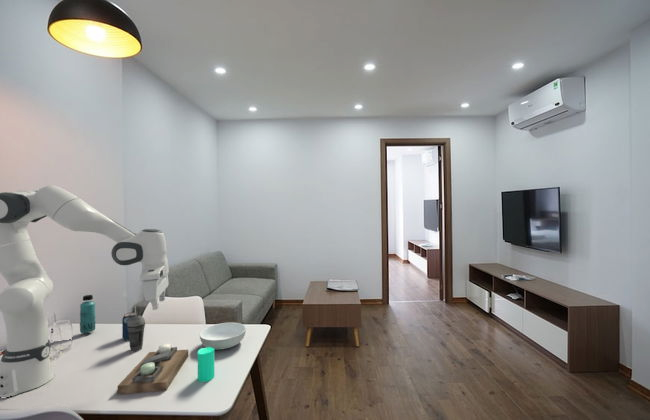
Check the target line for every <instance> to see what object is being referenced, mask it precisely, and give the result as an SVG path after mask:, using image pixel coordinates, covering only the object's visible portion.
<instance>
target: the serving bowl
mask: <svg viewBox="0 0 650 420" xmlns="http://www.w3.org/2000/svg"><path fill="white" fill-rule="evenodd" d="M246 330H247V328H246V325H244V324H242V323H240V322H222V323H216V324H213V325H210V326H208V327H206V328H204V329H203V330H201V331H200V333H199V340H200V342H201V344H202V345H203V346H204V348H206V347H211V348H214V350H225V349H229V348H232V347H235V346H237V345H238V344H239V343H241V341H243V340H244V338H245V336H246V332H247V331H246Z"/></svg>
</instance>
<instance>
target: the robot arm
mask: <svg viewBox="0 0 650 420" xmlns="http://www.w3.org/2000/svg"><path fill="white" fill-rule="evenodd" d="M47 217H48V218H50V219H51V220H52V221H54V222H56V223H57V224H58V225H60V226H61V227H64V228H65V229H68V230H70V231H74V232H83V233H84V232H85V233H87V232H89V233H96V234H100V235H103V236H105V237H107V238H109V239H111V240H112V241H114V242H116V244H114V246H113V247H112V249H111V259H112V260H113V261H114V262H115V263H116V264H117V265H120V266H131V265H133V264H136V263H140V264H141V268H142V269H141V274H139V280H140V282H142V284H141V285H142V292H143V293H142V294H143V298H144V300H145V302H150V304H151V306H152V308H151V309H152V310H153V311H155V310H156V311H157V310H158V309H159V307H160V306H159V303H158V300H159V302H165V300H166V289H167V288H168V287H169V284H170V283H169V276H168V274H169V272H170V270H169V269H170V268H169V259H168V257H167V252H168V250H167V247H168V246H167V241H166V237H165V233H164V232H163V231H162V230H160V229H158V228H157V229H156V228H155V229H154V228H145V229H142V230H140V231H139V232H138V233H134V232H133V231H131V230H130V229H128V228H126V227H125V226H123V225H122V224H120V223H118V222H117V221H114V220H113V219H111V218H110V217H108V216H107V215H105V214H103V213H102V212H100V211H98V210H97V209H95V207H94V206H92V205H90V204H89V203H87V202H86V201H84V200H83V199H81V198H80V197H79V196H77V195H75V194H74V193H72V192H70V191H69V190H66V189H64V188H62V187H60V186H58V185H53V184H52V185H50V184H49V185H45V186H43V187H41V188H39V189H37V190H16V191H10V192H7V191H6V192H0V274H1V276H2V277H3V278H4V280H5V281H6V283H7V284H8V286H7V287H6V288H4V289H3V290H2V291H1V292H0V312H1V315H2V318H3V321H4V325H5V331H6V334H5V335H6V348H5V349H3V350H2V351H0V356H2V357H1V358H0V397H9V398H11V397H10V396H12V397H15V396H16V395H19V394H21V393H25V392H28V391H32V390H34V389H36V388H39V387H41V386H43V385H45V384H47V383H48V382H50V381H52V380H53V378H54V377H55V373H54V371H53V370H54V369H53V368H52V365H51V360H50V352H51V340H50V339H49V320H48V318H47V316H46V313H45V309H44V302H45V300H47V299H48V298H49V297H50V295H51V294H52V293H53V290H54V283H53V280H52V279H51V278H50V277H49V275H48V274H47V272H46V270H45V268H44V267H43V266H42V264H41V262H40V260H39V259H38V257H37V254H36V251H35V248H34V245H33V243H32V240H31V237H30V235H29V232H28V225H29V224H30V223H37V222H38V221H40V220H42V219H44V218H47Z"/></svg>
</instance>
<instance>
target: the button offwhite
mask: <svg viewBox="0 0 650 420" xmlns="http://www.w3.org/2000/svg"><path fill="white" fill-rule="evenodd" d="M171 347H172V344H171V343H168V342H167V343H162V344H161V345H159V346H158V349H159V353H160V354H162V353H165V352H168V351H171Z"/></svg>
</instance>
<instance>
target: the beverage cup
mask: <svg viewBox="0 0 650 420" xmlns="http://www.w3.org/2000/svg"><path fill="white" fill-rule="evenodd" d="M134 312H135V316H133V317H132V318H130V319H129V321H128V324H127V329H128V333H129V340H128V341H129V347H130V348H129V349H130V352H133V353H134V352H136V353H137V352H139V351H141V350H142V349H143V343H144V333H145V327H146V319H145V318H144V317H143V316H142V315H139V314H138V315H136V312H137V306H136V305H134Z"/></svg>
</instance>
